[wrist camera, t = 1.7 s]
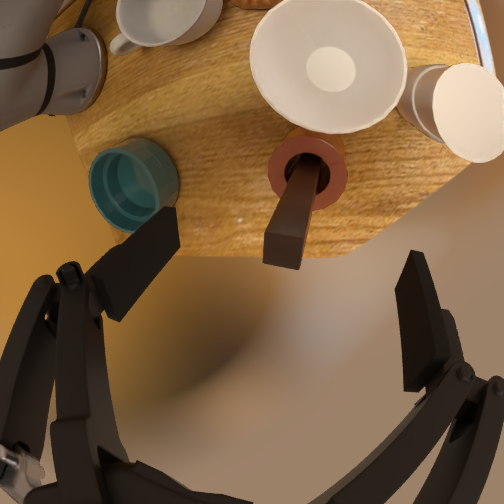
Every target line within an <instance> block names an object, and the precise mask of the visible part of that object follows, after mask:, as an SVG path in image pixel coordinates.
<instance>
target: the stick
mask: <svg viewBox="0 0 504 504" xmlns="http://www.w3.org/2000/svg"><path fill="white" fill-rule="evenodd" d="M321 164H322V158H321V157H319V156H317V155H316V154H312V153H306V152H305V153H302V154H301V156H300V158H299V160H298V162H297V164H296V167H295V169H294V171H293V173H292V175H291V177H290V179H289V181H288V184H287V186H286V188H285V190H284V192H283V194H282V196H281V199H280V201H279V203H278V205H277V207H276V209H275V211H274V213H273V216H272V218H271V220H270V222H269V224H268V226H267V228H266V230H265V233H264V248H263V263H264V264H269V265H274V266H279V267H284V268H290V269H295V270H299V269H300V265H301V260H302V256H303V252H304V247H305V243H306V238H307V234H308V229H309V225H310V220H311V215H312V210H313V205H314V200H315V195H316V190H317V185H318V180H319V174H320V169H321Z"/></svg>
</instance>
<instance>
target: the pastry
mask: <svg viewBox="0 0 504 504" xmlns="http://www.w3.org/2000/svg"><path fill="white" fill-rule="evenodd" d="M230 1H231V3H232V4H234V5H236V6H238V7H240V8H243V9H254V8H257V9H266V8H273V7H275V6H276V5H277V4H279V3H280V2H282V1H283V0H230Z"/></svg>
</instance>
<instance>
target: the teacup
mask: <svg viewBox="0 0 504 504" xmlns="http://www.w3.org/2000/svg"><path fill="white" fill-rule="evenodd" d="M222 6H223V0H118V2H117V7H116V19H117V23H118V26H119V29H120V31H121V32H122V33H121V34H119V35H118V36H116V37H115V38H114V39H113V40H112V42H111V43H110V51H111V52H112V53H113V54H114V55H115V56H122V55H125V54H128V53H130V52H132V51H133V50H135V49H137V48H138V47H140V46H144V47H156V46H172V45H181V44H185V43H188V42H191V41H194V40H196V39H198V38H200V37H201V36H203V35H204V34H205V33H207V32H208V31H209V30H210V29H211V28H212V27H213V26H214V24H215V23H216V21H217V20H218V18H219V16H220V14H221V10H222ZM128 41H129V42H128ZM126 42H127V43H126Z"/></svg>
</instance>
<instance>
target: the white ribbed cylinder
mask: <svg viewBox="0 0 504 504" xmlns="http://www.w3.org/2000/svg"><path fill="white" fill-rule="evenodd" d="M396 107H397V110H398V111H399V113H400V114H401V115H402V117H403V118H404V119H406V120H407V121H408V122H409V123H411V124H413V125H414V126H415V127H416V128H418V130H419V131H421V132H422V133H424V134H425V135H427V136H428V137H430V138H431V139H433V140H435V141H437V142H439V143H443V144H445V145H446V146H447V147H448V148H449V149H450V150H451V151H452V152H453V153H455V154H456V155H458V156H459V157H461V158H463V159H464V160H467V161H471V162H474V163H480V162H481V163H482V162H487V161H490V160H493V159H495V158H496V157H497V156H498V155H500V154H501V153H502V152H503V150H504V87H503V85H502V84H501V83H500V82H499V80H498V79H497V78H496V77H495V76H494V75H493V74H492V73H490V72H489V71H488V70H487V69H485V68H483V67H481V66H478V65H476V64H471V63H459V64H455V65H451V66H448V65H445V64H433V65H425V66H419V67H413V68H409V69H408V72H407V79H406V86H405V89H404V91H403V94H402V96H401V98H400V100H399V102H398V104H397V105H396Z"/></svg>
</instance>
